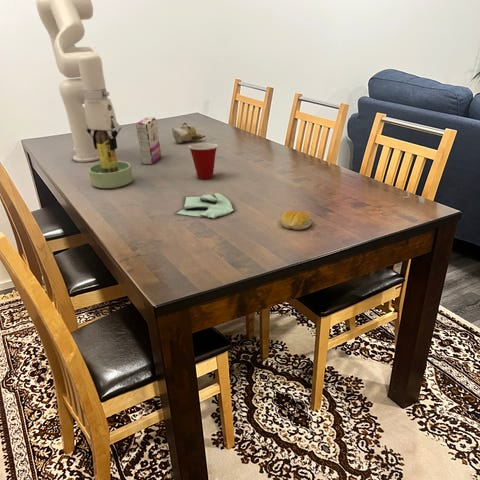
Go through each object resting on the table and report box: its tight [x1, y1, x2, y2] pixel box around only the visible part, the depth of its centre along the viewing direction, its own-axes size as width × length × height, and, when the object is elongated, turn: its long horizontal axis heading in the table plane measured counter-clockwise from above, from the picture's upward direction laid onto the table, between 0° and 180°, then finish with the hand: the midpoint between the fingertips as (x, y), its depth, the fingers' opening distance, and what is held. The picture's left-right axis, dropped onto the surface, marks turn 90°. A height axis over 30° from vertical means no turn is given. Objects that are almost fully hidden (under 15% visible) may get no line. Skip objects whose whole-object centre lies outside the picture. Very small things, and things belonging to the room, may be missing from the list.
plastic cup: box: [188, 142, 219, 180], centre depth 180 cm, size 11×11×12 cm
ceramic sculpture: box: [171, 122, 206, 144], centre depth 227 cm, size 11×9×15 cm
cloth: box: [176, 192, 235, 220], centre depth 158 cm, size 20×22×2 cm
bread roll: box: [280, 210, 313, 231], centre depth 141 cm, size 8×9×4 cm
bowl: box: [88, 160, 134, 189], centre depth 180 cm, size 15×15×6 cm
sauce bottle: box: [96, 130, 118, 173], centre depth 174 cm, size 6×6×20 cm
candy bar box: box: [135, 116, 162, 165], centre depth 200 cm, size 11×5×16 cm, turn 168°
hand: (106, 148), depth 174 cm, fingers closed on sauce bottle, 6 cm apart
